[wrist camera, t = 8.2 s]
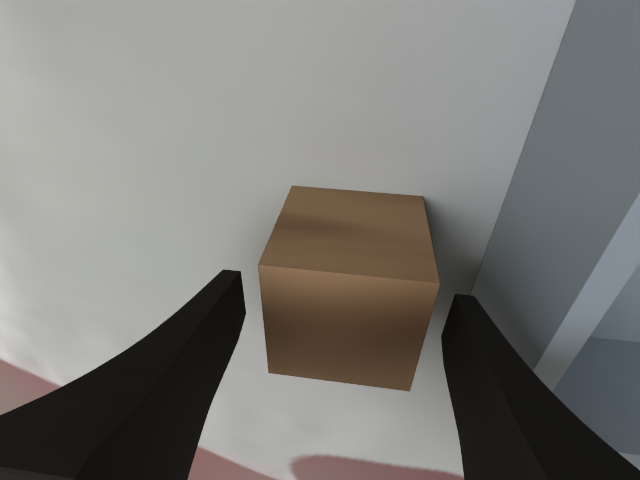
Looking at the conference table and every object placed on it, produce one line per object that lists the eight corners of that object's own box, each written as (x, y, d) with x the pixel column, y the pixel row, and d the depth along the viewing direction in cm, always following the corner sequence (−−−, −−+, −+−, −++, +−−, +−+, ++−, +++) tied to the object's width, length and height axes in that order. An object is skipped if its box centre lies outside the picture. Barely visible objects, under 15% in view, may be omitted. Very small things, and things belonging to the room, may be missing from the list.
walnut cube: (402, 292, 17) (409, 391, 13) (294, 281, 17) (268, 372, 13) (422, 195, 14) (439, 283, 10) (292, 185, 14) (258, 264, 10)
